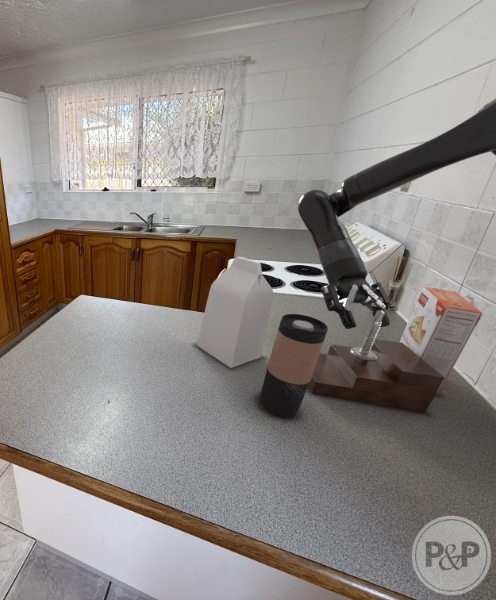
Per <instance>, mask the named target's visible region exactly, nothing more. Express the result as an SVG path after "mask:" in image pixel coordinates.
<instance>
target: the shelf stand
mask: <svg viewBox="0 0 496 600" xmlns="http://www.w3.org/2000/svg"><path fill="white" fill-rule="evenodd" d="M355 347H356V346H355ZM355 347H353V346H347V345H340V344H334V343H333V344H332V343H330V346H329V349H328V352H327V353H321V352H320V354H319V357H318V360H317V363H316V366H315V369H314V372H313V375H312V378H311V380H310V383H309V386H308V389H309V390H310V392H311V394H315V395H322V396H327V397H334V398H338V399H343V400H350V401H355V402H360V403H367V404H372V405H379V406H384V407H391V408H396V409H403V410H407V411H414V412H418V413H424V414H425V413H426V412H427V410H428V409H429V406H430V405H431V403H432V402H433V400H434V398H435V396H436V395H437V394H436V393H437V391H438V389H439V387H440V385H441V383H442V382H443V380H444V378H445V377H443V376H442V375H441V374H440V373H439V372H437V371H436V370H435V369H434V368H433V367H431V366H430V365H429V364H428V363H426V362H425V361H424V360H423V359H422V358H420V357H419V356H418V355H417V354H416V353H414V352H413V351H412V350H411V349H409V348H408V347H407V346H406V345H405V344H403V343H401V342H400V341H392V340H386V339H385V340H384V339H377V338H375V340H374V342H373V345H372V347H371V349H370V351H371V352H373V353H374V354H375V355H376V356H377V359H376V360H374V361H368V363H367V364H359V363H357V362H355V361H354V355H352V354H351V353H350V349H351V348H355Z"/></svg>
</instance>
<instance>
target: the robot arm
mask: <svg viewBox="0 0 496 600" xmlns="http://www.w3.org/2000/svg"><path fill="white" fill-rule="evenodd" d="M486 153H487V154H488V153H491V154H493V155H494V156H495V157H496V98H494V99H492V100H490V101H489V102H487V103H486V104H484V105H483V106H482V107H481V108H480V109H479V110H478V111H477V112H476V113H475V114H474V115H472V116H470V117H469V118H467V119H466V120H464V121H463V122H461V123H459V124H457V125H456V126H454V127H453V128H451V129H449V130H447V131H445V132H444V133H441V134H439V135H437V136H436V137H433V138H431V139H430V140H427V141H425V142H423V143H421V144H419V145H417V146H415V147H412V148H410V149H407V150H405V151H403V152H400V153H397V154H395V155H392V156H390V157H388V158H386V159H384V160H381V161H378V162H377V163H375V164H373V165H370V166H369V167H367V168H365V169H363V170H361V171H359V172H356V173H354V174H352V175H350V176H348V177H347V178H345V179H344V180H343V181H342V183H341V187H340V188H338V189H337V190H336V191H334V192H333V193H331V194H329V193H328V192H326V191H325V190H322V189H310V190H309V191H306V192H305V193H304V194H302V196H301V197H300V198H299V200H298V203H297V211H298V214H299V217H300V218H301V220H302V222H303V224H304V226H305V227H306V229H307V230H308V232H309V234H310V235H311V238H312V241H313V244H314V247H315V250H316V252H317V255H318V259H319V262H320V265H321V268H322V270H323V272H324V275H325V278H326V280H327V282H328V284H326V285H324V286H323V287H321V288H320V289H321V294H322V296H323V300H324V303H325V306H326V310H327V311H329V312H332V311H333V312H335V313H336V314H338V316H339V319H340V321H341V324H342V326H343V327H344V329H345V330H350V329H354V328H357V323H356V320H355V318H354V316H353V313H352V310H350V308H351V304H353V303H354V304H360V305H361V306H363V307H367V308H368V310H370V311H371V314H372V316H373V318H374V317H375V314H376V312H377V311H379V310H382V311H383V312H384V316H383V318H382V320H381V321H382V323H381V326H380V328H385V327H388V326H390V324H391V322H390V318H389V317H388V314H387V312H386V308H387V307H390V306H392V302H391V300H390V297H389V296H388V294H387V292H386V291H385V289H384V287H383V284H382V283H381V282H380V281H376V282H374V283H369V282H368V281H367V276H368V274H369V273H368V270H367V268H366V266H365V263H364V261H363V259H362V257H361V254H360V252H359V250H358V248H357V246H356V244H355V243H354V242H353V240H352V238H351V236H350V233H349V231H348V229H347V227H346V225H345V224H344V223H343V222H342V221H341V220H340V219H339V218H340V217H341V216H343V215H345V214H347V213H348V212H351V211H352V210H353V209H354V208H355V207H357V206H359V205H361V204H363V203H365V202H368V201H370V200H372V199H374V198H377V197H380V196H381V195H382V196H383V195H385V194H387V193H389V192H391V191H393V190H396V189H398V188H400V187H402V186H404V185H407V184H409V183H411V182H413V181H416V180H417V179H420V178H422V177H424V176H427V175H429V174H431V173H434V172H436V171H438V170H441V169H443V168H446V167H448V166H449V167H450V166H451V165H455V164H457V163H459V162H462V161H465V160H468V159H471V158H474V157H477V156H480V155H483V154H486ZM381 300H382V301H383V302H382V301H381Z"/></svg>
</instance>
